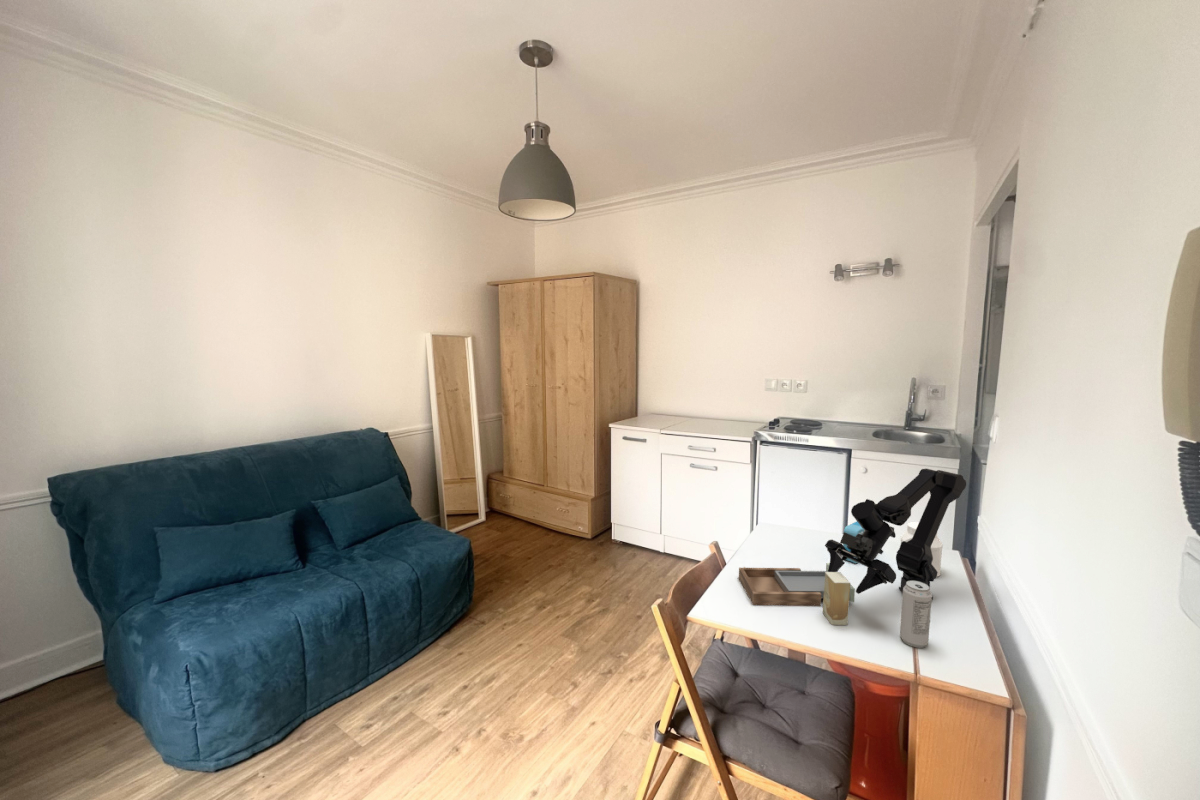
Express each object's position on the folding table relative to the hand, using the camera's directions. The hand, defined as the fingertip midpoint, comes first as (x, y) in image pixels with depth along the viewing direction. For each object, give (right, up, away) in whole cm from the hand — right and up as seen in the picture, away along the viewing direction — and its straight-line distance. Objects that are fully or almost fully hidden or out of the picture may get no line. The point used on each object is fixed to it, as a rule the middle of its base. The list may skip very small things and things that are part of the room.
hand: (842, 584), depth 132 cm
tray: (-2, -7, +15) cm, 16 cm away
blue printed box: (+24, -5, +38) cm, 46 cm away
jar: (+40, -6, +29) cm, 50 cm away
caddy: (-11, -8, +15) cm, 21 cm away
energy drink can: (+13, -11, -10) cm, 20 cm away
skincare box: (-2, -10, 0) cm, 10 cm away
